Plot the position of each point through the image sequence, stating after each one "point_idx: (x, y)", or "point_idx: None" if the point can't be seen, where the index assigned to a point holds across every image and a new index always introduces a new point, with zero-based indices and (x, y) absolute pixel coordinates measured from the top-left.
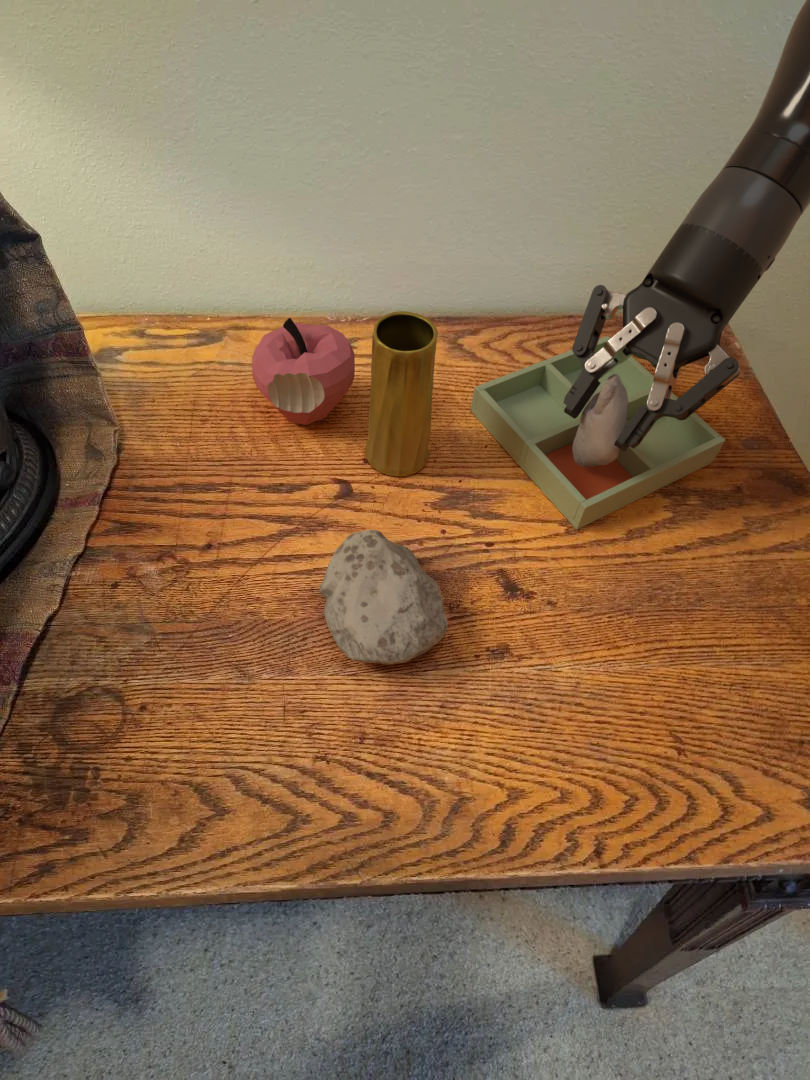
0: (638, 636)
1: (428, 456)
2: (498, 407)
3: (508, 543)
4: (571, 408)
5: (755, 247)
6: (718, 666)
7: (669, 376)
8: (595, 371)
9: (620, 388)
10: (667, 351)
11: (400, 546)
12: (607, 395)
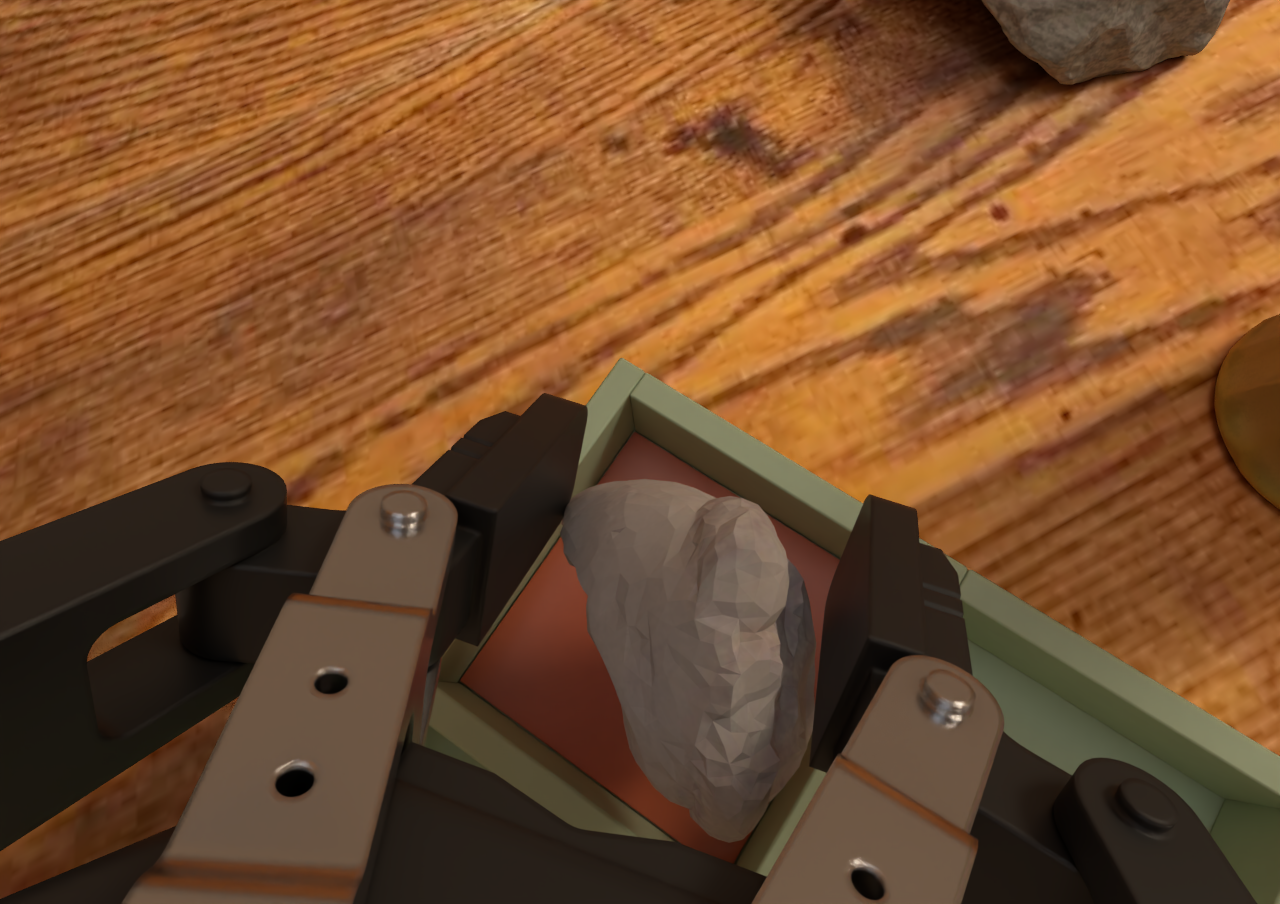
0: (372, 159)
1: (1233, 442)
2: (1178, 719)
3: (804, 263)
4: (882, 504)
5: None
6: (161, 172)
7: (288, 604)
8: (892, 667)
9: (665, 627)
10: (315, 804)
11: (1086, 22)
12: (726, 510)
